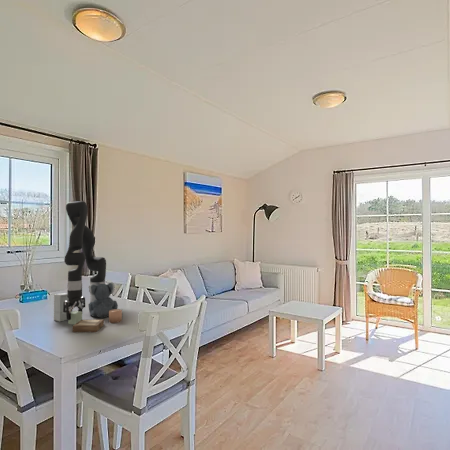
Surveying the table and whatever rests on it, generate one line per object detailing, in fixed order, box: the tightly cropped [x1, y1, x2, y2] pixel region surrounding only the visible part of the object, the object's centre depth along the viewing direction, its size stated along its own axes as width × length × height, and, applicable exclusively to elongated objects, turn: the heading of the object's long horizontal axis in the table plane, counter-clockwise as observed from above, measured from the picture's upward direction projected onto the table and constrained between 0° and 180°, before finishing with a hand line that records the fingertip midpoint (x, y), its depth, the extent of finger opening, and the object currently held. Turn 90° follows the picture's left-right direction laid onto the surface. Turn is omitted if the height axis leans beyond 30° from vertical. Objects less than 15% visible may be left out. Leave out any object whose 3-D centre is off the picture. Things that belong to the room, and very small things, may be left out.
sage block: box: [67, 310, 83, 325], centre depth 189 cm, size 5×5×6 cm
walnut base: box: [72, 318, 105, 333], centre depth 179 cm, size 12×12×3 cm
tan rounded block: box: [108, 308, 123, 324], centre depth 193 cm, size 7×7×6 cm
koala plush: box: [88, 281, 119, 319], centre depth 207 cm, size 17×18×20 cm
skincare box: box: [53, 292, 73, 322], centre depth 197 cm, size 8×6×15 cm
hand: (74, 317), depth 189 cm, fingers open, 8 cm apart
